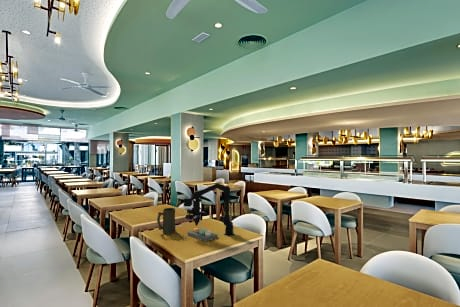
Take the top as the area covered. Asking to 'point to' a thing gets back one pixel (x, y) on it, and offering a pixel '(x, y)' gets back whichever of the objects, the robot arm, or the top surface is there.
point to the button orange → (196, 230)
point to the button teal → (201, 231)
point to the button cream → (208, 233)
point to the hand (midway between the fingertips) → (196, 225)
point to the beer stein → (167, 221)
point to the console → (202, 236)
